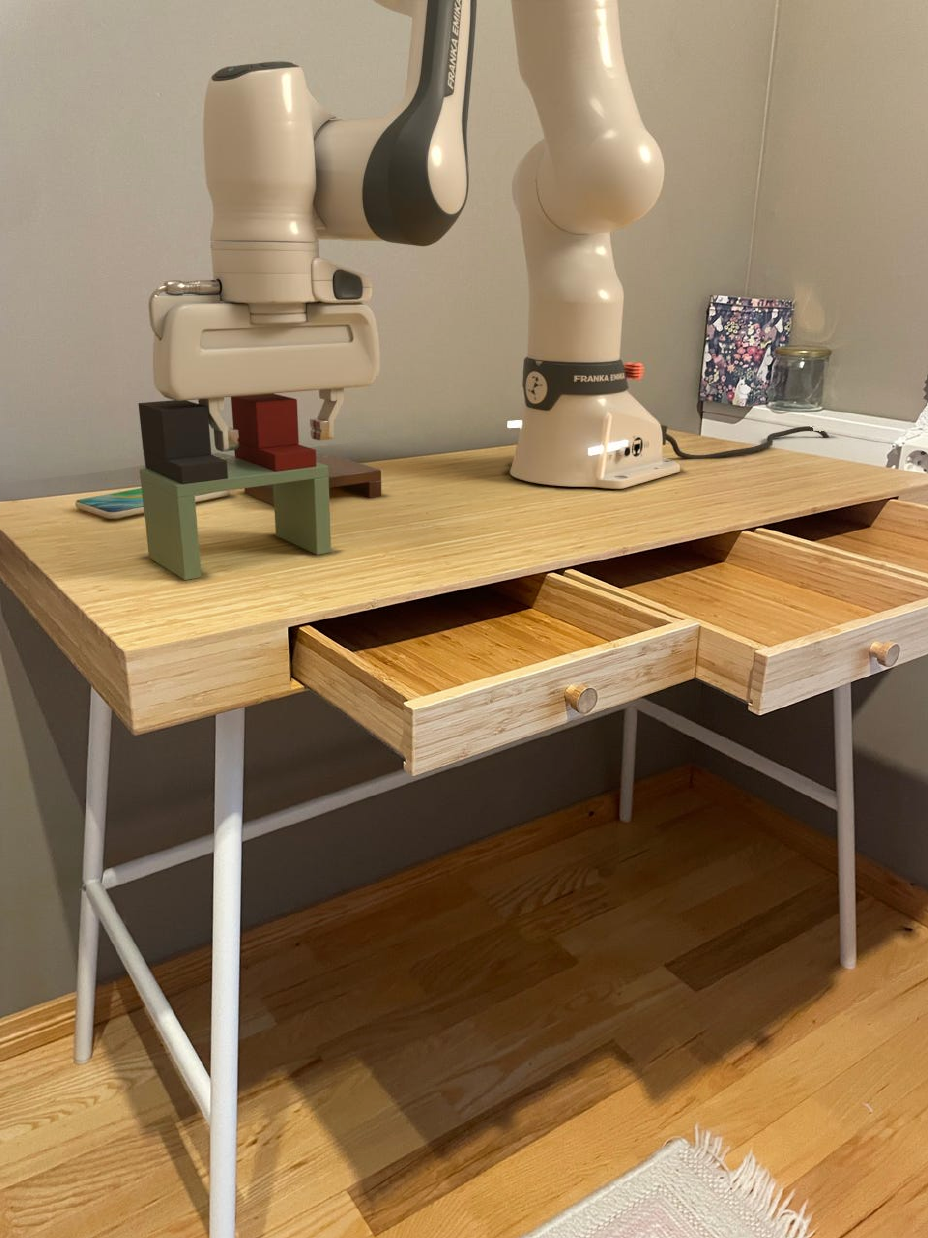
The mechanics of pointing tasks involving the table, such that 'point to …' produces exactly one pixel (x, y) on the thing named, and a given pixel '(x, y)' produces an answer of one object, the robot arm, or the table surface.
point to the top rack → (294, 490)
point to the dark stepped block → (179, 442)
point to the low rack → (336, 479)
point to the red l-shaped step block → (270, 432)
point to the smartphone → (126, 503)
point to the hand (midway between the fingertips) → (276, 444)
